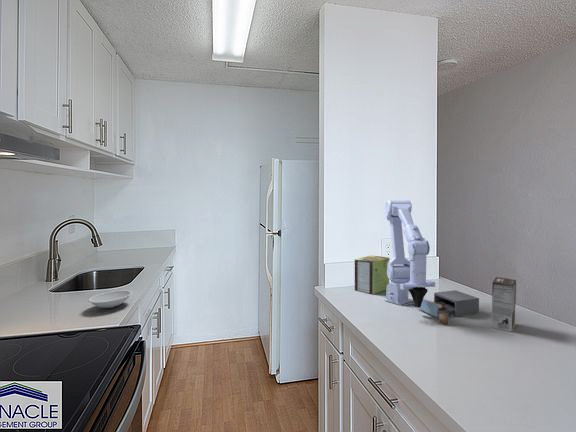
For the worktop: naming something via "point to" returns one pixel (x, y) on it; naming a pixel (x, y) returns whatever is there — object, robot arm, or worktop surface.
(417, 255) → the robot arm
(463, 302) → the box
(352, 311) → the worktop surface
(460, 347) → the worktop surface
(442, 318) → the post
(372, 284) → the protein box
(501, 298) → the coffee box
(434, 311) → the tray
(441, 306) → the puck
